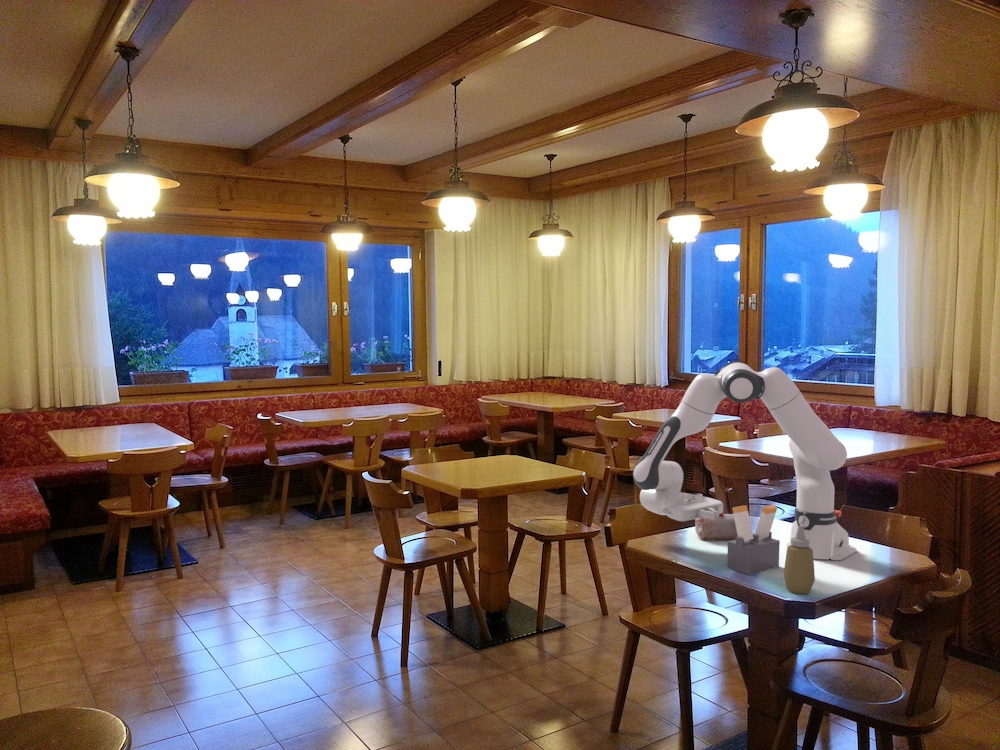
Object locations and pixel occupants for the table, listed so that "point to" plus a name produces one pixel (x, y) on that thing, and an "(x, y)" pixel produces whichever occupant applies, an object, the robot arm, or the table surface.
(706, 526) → the food item
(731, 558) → the grey holder block
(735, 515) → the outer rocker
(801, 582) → the squeeze bottle
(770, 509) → the orange-tipped white bar
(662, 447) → the robot arm
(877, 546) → the table surface
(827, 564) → the table surface
